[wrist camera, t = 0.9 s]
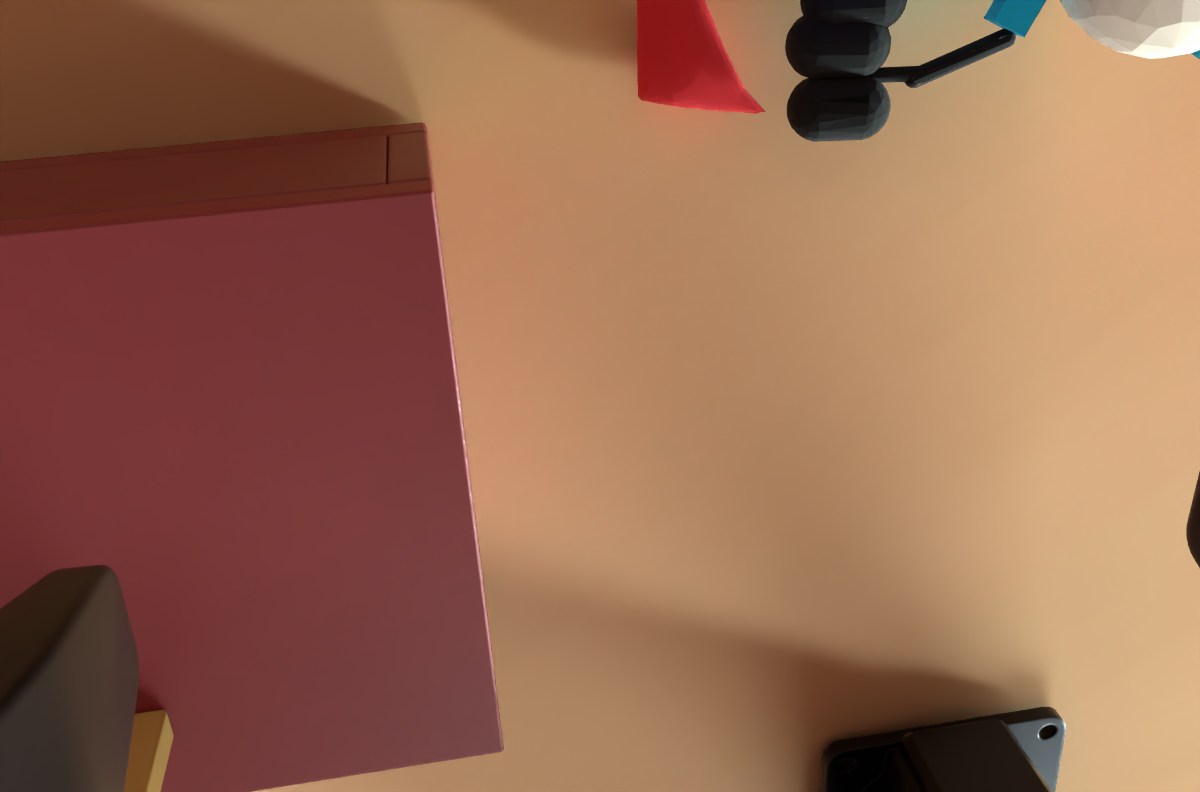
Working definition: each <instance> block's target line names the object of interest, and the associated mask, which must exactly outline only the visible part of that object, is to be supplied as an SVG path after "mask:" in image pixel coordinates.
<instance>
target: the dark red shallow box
mask: <svg viewBox="0 0 1200 792" xmlns="http://www.w3.org/2000/svg"><path fill="white" fill-rule="evenodd" d="M425 180H430V181H432V183H433V189H434V181H433V173H432V165H431V157H430V149H429V141H428V133H427V127H426V125H425V124H424V123H412V124H402V125H391V126H380V127H370V128H359V129H348V130H337V131H327V132H316V133H305V134H295V135H284V136H273V137H262V138H252V139H241V140H230V141H220V142H209V143H198V144H187V145H177V146H166V147H155V148H144V149H134V150H123V151H112V152H102V153H91V154H80V155H69V156H59V157H48V158H37V159H27V160H16V161H5V162H0V223H2V222H12V221H22V220H32V219H42V218H52V217H62V216H72V215H82V214H92V213H103V212H113V211H123V210H133V209H143V208H153V207H163V206H173V205H183V204H193V203H203V202H213V201H223V200H234V199H244V198H254V197H264V196H274V195H284V194H294V193H304V192H314V191H324V190H334V189H344V188H355V187H365V186H375V185H385V184H395V183H405V182H415V181H425ZM434 197H435V189H434ZM435 205H436V197H435ZM436 213H437V205H436ZM437 221H438V213H437ZM438 229H439V221H438ZM439 237H440V229H439ZM440 245H441V237H440ZM441 252H442V245H441ZM442 260H443V253H442ZM443 268H444V261H443ZM444 276H445V269H444ZM445 284H446V277H445ZM446 292H447V285H446ZM447 300H448V293H447ZM448 308H449V301H448ZM449 316H450V309H449ZM450 324H451V317H450ZM451 332H452V325H451ZM452 340H453V333H452ZM453 348H454V341H453ZM454 356H455V349H454ZM455 364H456V357H455ZM456 372H457V365H456ZM457 380H458V373H457ZM458 388H459V381H458ZM459 396H460V390H459ZM460 404H461V398H460ZM461 412H462V406H461ZM462 420H463V414H462ZM463 428H464V422H463ZM464 436H465V430H464ZM465 444H466V438H465ZM466 452H467V446H466ZM467 460H468V454H467ZM468 468H469V462H468ZM469 476H470V470H469ZM470 484H471V478H470ZM471 492H472V486H471ZM472 500H473V494H472ZM473 508H474V502H473ZM474 516H475V510H474ZM475 524H476V518H475ZM476 532H477V526H476ZM477 540H478V534H477ZM478 548H479V542H478ZM479 556H480V550H479ZM480 564H481V558H480ZM481 572H482V566H481ZM482 580H483V574H482ZM483 588H484V582H483ZM484 596H485V590H484ZM485 604H486V598H485ZM486 612H487V606H486ZM487 619H488V614H487ZM488 627H489V623H488ZM489 635H490V631H489ZM490 643H491V640H490ZM491 651H492V648H491ZM492 659H493V656H492ZM493 667H494V665H493ZM494 675H495V673H494ZM495 683H496V682H495ZM496 691H497V690H496ZM497 699H498V698H497Z"/></svg>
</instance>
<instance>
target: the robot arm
mask: <svg viewBox="0 0 1200 792" xmlns="http://www.w3.org/2000/svg"><path fill="white" fill-rule="evenodd" d="M1187 541H1188V546H1189V549H1190V551H1191V554H1192V556H1193V558H1194V559H1195V561H1196V563H1197V564H1198V566H1199V568H1200V472H1199V476H1198V480H1197V484H1196V489H1195V493H1194V497H1193V501H1192V505H1191V509H1190V513H1189V518H1188V522H1187ZM138 684H139V659H138V652H137V648H136V644H135V640H134V636H133V632H132V628H131V625H130V621H129V617H128V613H127V609H126V606H125V602H124V598H123V594H122V591H121V587H120V583H119V580H118V578H117V576H116V574H115V572H114V571H113V570H112V569H111V568H110V567H108V566H106V565H93V566H83V567H74V568H65V569H58V570H55V571H52V572H50V573H49V574H47V575H46V576H44V577H43V578H42V579H40V580H39V581H38V582H36V583H35V584H34V585H32V586H31V587H29V588H28V589H27V590H25V591H24V592H23V593H21V594H20V595H19V596H17V597H16V598H14V599H13V600H12V601H10V602H9V603H8V604H6V605H5V606H4V607H2V608H1V609H0V792H124V789H125V781H126V774H127V766H128V759H129V752H130V744H131V737H132V729H133V722H134V714H135V707H136V699H137V692H138ZM1044 726H1045V727H1044ZM1065 732H1066V724H1065V722H1064V721H1063V720H1062V718H1061V717H1060V716H1059V714H1058V713H1057V712H1056V710H1055V709H1053V708H1051V707H1040V708H1033V709H1027V710H1021V711H1015V712H1009V713H1003V714H997V715H990V716H984V717H978V718H972V719H966V720H960V721H954V722H947V723H941V724H935V725H929V726H923V727H917V728H911V729H904V730H898V731H892V732H886V733H880V734H874V735H868V736H861V737H855V738H849V739H843V740H839V741H836V742H833V743H832V744H830V745H829V746H828V747H827V748H826V749H825V750H824V752H823V755H822V764H821V786H820V792H1055V788H1056V783H1057V777H1058V771H1059V766H1060V760H1061V754H1062V749H1063V743H1064V737H1065ZM845 758H846V759H845ZM842 759H845V760H843V761H841V760H842ZM839 761H840V762H839Z"/></svg>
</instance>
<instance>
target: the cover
mask: <svg viewBox="0 0 1200 792" xmlns="http://www.w3.org/2000/svg"><path fill="white" fill-rule="evenodd" d="M93 565H106V566H108V567H110V568H111V569H112V570H113V571H114V572H115V574H116V576H117V578H118V580H119V583H120V587H121V591H122V594H123V598H124V602H125V606H126V609H127V613H128V617H129V621H130V625H131V628H132V632H133V636H134V640H135V644H136V648H137V652H138V659H139V684H138V692H137V699H136V707H135V714H134V722H133V729H132V737H131V744H130V752H129V759H128V766H127V774H126V781H125V789H124V792H251V791H257V790H264V789H270V788H276V787H283V786H289V785H295V784H302V783H308V782H314V781H321V780H327V779H333V778H340V777H346V776H352V775H358V774H365V773H371V772H377V771H384V770H390V769H396V768H403V767H409V766H415V765H422V764H428V763H434V762H441V761H447V760H453V759H460V758H466V757H472V756H478V755H485V754H491V753H497V752H502V751H503V749H504V748H503V740H502V731H501V723H500V715H499V707H498V699H497V691H496V683H495V675H494V667H493V659H492V651H491V643H490V635H489V627H488V619H487V612H486V604H485V596H484V588H483V580H482V572H481V564H480V556H479V548H478V540H477V532H476V524H475V516H474V508H473V500H472V492H471V484H470V476H469V468H468V460H467V452H466V444H465V436H464V428H463V420H462V412H461V404H460V396H459V388H458V380H457V372H456V364H455V356H454V348H453V340H452V332H451V324H450V316H449V308H448V300H447V292H446V284H445V276H444V268H443V260H442V252H441V245H440V237H439V229H438V221H437V213H436V205H435V197H434V189H433V183H432V181H430V180H425V181H415V182H405V183H395V184H385V185H375V186H365V187H355V188H344V189H334V190H324V191H314V192H304V193H294V194H284V195H274V196H264V197H254V198H244V199H234V200H223V201H213V202H203V203H193V204H183V205H173V206H163V207H153V208H143V209H133V210H123V211H113V212H103V213H92V214H82V215H72V216H62V217H52V218H42V219H32V220H22V221H12V222H2V223H0V609H1V608H2V607H4V606H5V605H6V604H8V603H9V602H10V601H12V600H13V599H14V598H16V597H17V596H19V595H20V594H21V593H23V592H24V591H25V590H27V589H28V588H29V587H31V586H32V585H34V584H35V583H36V582H38V581H39V580H40V579H42V578H43V577H44V576H46V575H47V574H49V573H50V572H52V571H55V570H58V569H65V568H74V567H83V566H93Z"/></svg>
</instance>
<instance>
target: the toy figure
mask: <svg viewBox="0 0 1200 792" xmlns="http://www.w3.org/2000/svg"><path fill="white" fill-rule="evenodd" d="M1060 1H1061V3H1062V5H1063V7H1064V8H1065V10H1066V12H1067V14H1068V16H1069V17H1070V18H1071V19H1072V20H1073V21H1074V22H1075V23H1076V24H1078V25H1079V26H1080V27H1081V28H1082V29H1083V30H1084V31H1085V32H1086V33H1087V34H1088V35H1089V36H1091V37H1092V38H1093V39H1095V40H1096V41H1098V42H1100V43H1102V44H1104V45H1105V46H1107V47H1109V48H1111V49H1113V50H1114V51H1117V52H1121V53H1126V54H1130V55H1135V56H1139V57H1144V58H1148V59H1152V58H1164V57H1170V56H1176V55H1182V54H1188V53H1191V54H1193V55H1194V56H1196V57H1197V58H1199V59H1200V0H1060ZM1045 2H1046V0H994V1H993V3H992V5H991V6H990V8H989V10H988V12H987V13H986V15H985V17H984V19H986V20H988V21H990V22H992V23H994V24H995V25H997V26H999V27H1001V28H1003V29H1002V30H999V31H997V32H995V33H993V34H990V35H988V36H986V37H984V38H981V39H979V40H977V41H975V42H972V43H970V44H968V45H965V46H963V47H961V48H959V49H956V50H954V51H952V52H950V53H947V54H945V55H943V56H941V57H938V58H936V59H934V60H932V61H929V62H927V63H925V64H922V65H920V66H907V67H883V68H880V67H881V66H882V65H883V63H884V62H885V60H886V59H887V57H888V54H889V52H890V45H891V36H890V33H889V30H888V27H890V26H891V25H892V24H893V23H895V22H896V21H897V20H898V19H899V18H900V16H901V15H902V13H903V11H904V9H905V6H906V3H907V0H800V4H801V10H802V13H803V15H804V16H802V17H801V18H799V19H798V20H797V21H796V22H795V23H794V24H793V26H792V27H791V29H790V30H789V32H788V34H787V39H786V46H785V49H786V56H787V58H788V61H789V63H790V64H791V66H792V67H793V68H794V70H795V71H796V72H798V73H799V74H800V75H802V76H805V77H808V78H807V79H805V80H803V81H802V82H801V83H799V84H798V85H797V86H796V87H795V88H794V90H793V92H792V93H791V95H790V98H789V100H788V103H787V117H788V120H789V123H790V125H791V127H792V128H793V129H794V130H795V132H796V133H797V134H799V135H800V136H801V137H803V138H805V139H807V140H811V141H840V140H862V139H866V138H869V137H871V136H873V135H874V134H876V133H877V132H878V131H879V130H880V129H881V128H882V127H883V126H884V124H885V123H886V121H887V119H888V116H889V112H890V98H889V95H888V92H887V90H886V88H885V87H884V85H883V84H882V83H885V82H905V84H906V85H907V86H909V87H910V88H917V87H919V86H921V85H923V84H926V83H928V82H930V81H933V80H935V79H937V78H939V77H942V76H944V75H946V74H949V73H951V72H953V71H955V70H958V69H960V68H962V67H965V66H967V65H969V64H971V63H974V62H976V61H978V60H980V59H983V58H985V57H987V56H990V55H992V54H994V53H996V52H999V51H1001V50H1003V49H1006V48H1008V47H1010V46H1011V45H1013V44H1014V41H1015V39H1016V36H1015V35H1018V36H1022V37H1025V35H1026V33H1027V32H1028V30H1029V28H1030V27H1031V25H1032V23H1033V22H1034V20H1035V18H1036V17H1037V15H1038V13H1039V12H1040V10H1041V8H1042V7H1043V5H1044V4H1045ZM637 66H638V97H639V98H640V99H641V100H642V101H648V102H653V103H658V104H664V105H671V106H678V107H686V108H698V109H705V110H719V111H735V112H745V113H759V112H764V110H763V109H762V108H761V107H760V105H759V104H758V103H757V102H756V101H755V100H754V99H753V98H752V97H751V95H750V94H749V93H748V92H747V91H746V89H745V88H744V87H743V85H742V83H741V81H740V79H739V77H738V75H737V73H736V71H735V69H734V67H733V65H732V63H731V61H730V59H729V57H728V55H727V53H726V51H725V48H724V46H723V44H722V41H721V39H720V36H719V34H718V32H717V29H716V27H715V24H714V22H713V19H712V17H711V14H710V12H709V10H708V8H707V5H706V3H705V0H637Z"/></svg>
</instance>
